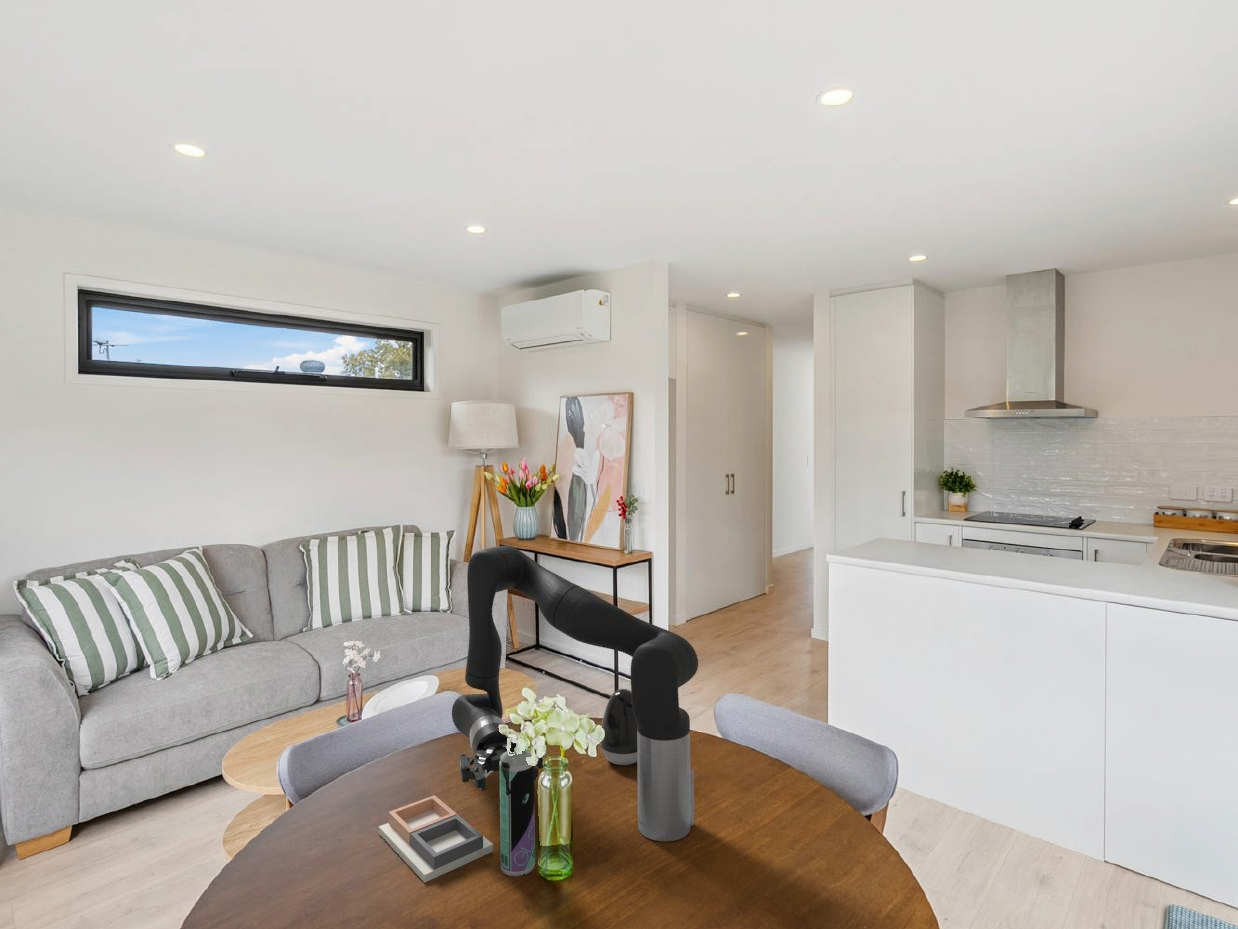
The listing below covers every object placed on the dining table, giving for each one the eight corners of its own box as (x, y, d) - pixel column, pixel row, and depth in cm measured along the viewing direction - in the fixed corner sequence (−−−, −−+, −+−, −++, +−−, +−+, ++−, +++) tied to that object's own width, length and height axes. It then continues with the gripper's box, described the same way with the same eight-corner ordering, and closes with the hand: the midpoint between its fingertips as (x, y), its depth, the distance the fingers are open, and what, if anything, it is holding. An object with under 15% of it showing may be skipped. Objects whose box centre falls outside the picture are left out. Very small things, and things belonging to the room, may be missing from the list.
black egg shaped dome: (614, 776, 136) (613, 701, 136) (591, 756, 145) (591, 686, 145) (657, 764, 141) (656, 692, 141) (632, 745, 150) (631, 678, 150)
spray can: (528, 878, 103) (527, 750, 103) (495, 874, 104) (493, 747, 104) (539, 857, 109) (538, 735, 108) (508, 853, 110) (506, 732, 109)
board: (442, 808, 124) (442, 791, 124) (493, 851, 110) (492, 832, 110) (378, 833, 116) (378, 815, 116) (424, 882, 102) (424, 862, 102)
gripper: (453, 728, 124) (466, 765, 109) (528, 716, 130) (550, 750, 114) (453, 768, 125) (466, 810, 109) (528, 755, 130) (550, 794, 115)
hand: (509, 780), depth 112 cm, fingers open, 8 cm apart
